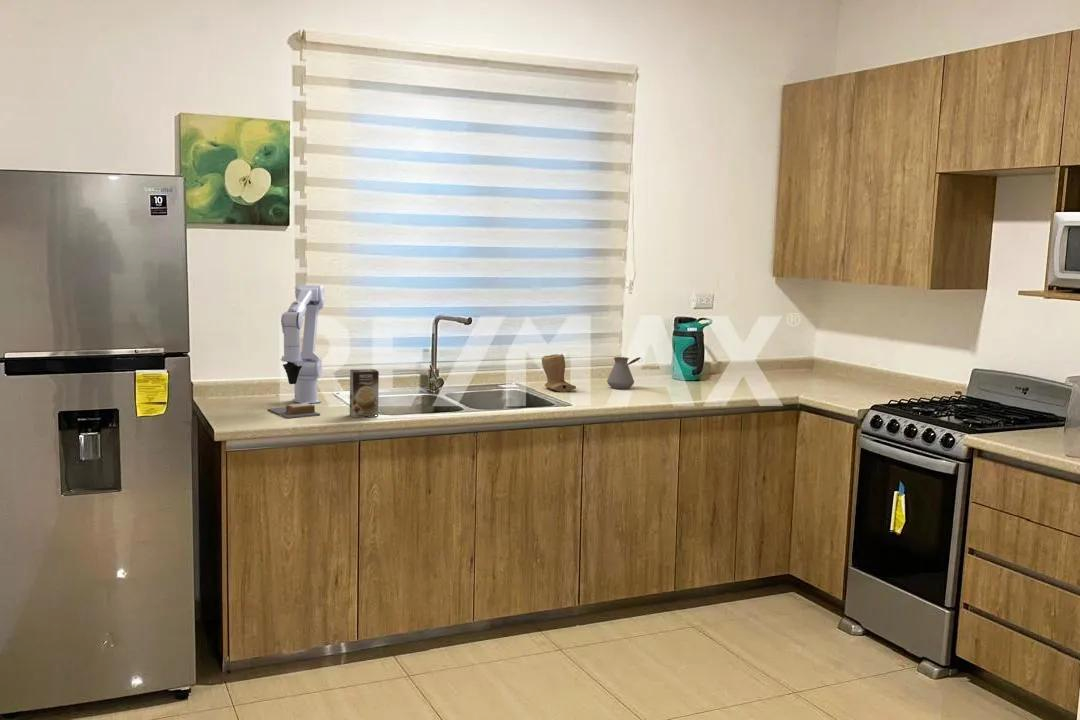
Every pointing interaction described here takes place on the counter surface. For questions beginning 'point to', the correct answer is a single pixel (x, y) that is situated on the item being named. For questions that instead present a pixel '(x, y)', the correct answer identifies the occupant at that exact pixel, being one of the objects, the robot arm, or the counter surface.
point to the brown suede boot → (556, 373)
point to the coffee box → (364, 392)
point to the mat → (287, 415)
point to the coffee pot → (621, 374)
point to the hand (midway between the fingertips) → (292, 383)
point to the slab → (300, 408)
